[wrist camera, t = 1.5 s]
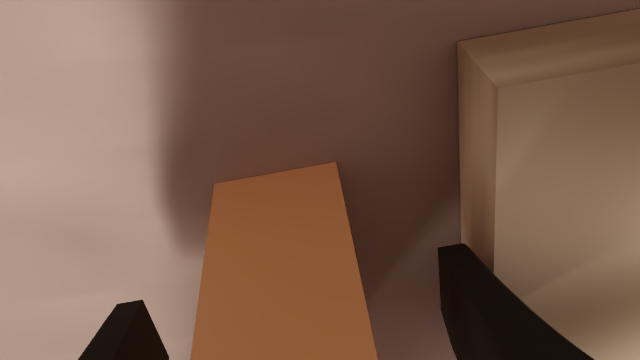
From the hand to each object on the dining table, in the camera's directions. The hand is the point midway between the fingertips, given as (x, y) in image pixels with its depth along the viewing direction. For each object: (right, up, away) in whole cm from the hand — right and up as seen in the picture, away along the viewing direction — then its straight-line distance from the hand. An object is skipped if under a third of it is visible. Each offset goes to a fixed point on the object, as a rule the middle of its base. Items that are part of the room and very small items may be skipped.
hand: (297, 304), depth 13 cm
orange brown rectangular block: (0, +1, +2) cm, 2 cm away
